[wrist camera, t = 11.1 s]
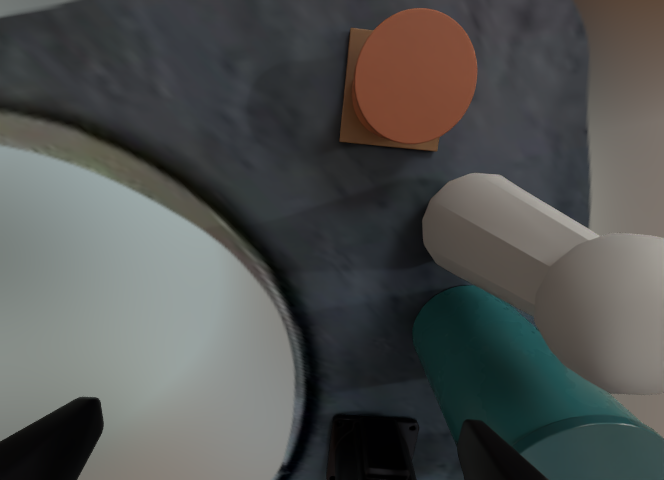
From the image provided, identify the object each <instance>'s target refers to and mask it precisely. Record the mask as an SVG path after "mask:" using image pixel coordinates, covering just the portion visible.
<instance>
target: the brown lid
mask: <svg viewBox="0 0 664 480" xmlns="http://www.w3.org/2000/svg"><path fill="white" fill-rule="evenodd" d="M476 81H477V60H476V55H475V51H474V48H473V45H472V43H471V41H470V39H469V37H468V35H467V34H466V32H465V31H464V29H463V28H462V27H461V26H460V25H459V24H458V23H457V22H456V21H455V20H453V19H452V18H451V17H449V16H447V15H446V14H444V13H441V12H439V11H436V10H432V9H426V8H416V9H409V10H405V11H401V12H399V13H397V14H394V15H392V16H391V17H389V18H387V19H386V20H385V21H383V22H382V23H381V24H380V25H378V26H377V28H376V29H375V30H374V31H373V32H372V33H371V34H370V36H369V37H368V38H367V40H366V42H365V43H364V45H363V47H362V49H361V52H360V54H359V56H358V59H357V63H356V67H355V73H354V80H353V85H352V102H353V107H354V110H355V113H356V115H357V117H358V119H359V120H360V122H361V123H362V124H363V125H364V127H365V128H366V129H368V130H369V131H370V132H372V133H373V134H375V135H377V136H379V137H382V138H386V139H388V140H390V141H393V142H397V143H402V144H420V143H425V142H429V141H431V140H434V139H436V138H438V137H440V136H442V135H443V134H445V133H446V132H448V131H449V130H450V129H451V128H452V127H454V126H455V125H456V124H457V122H458V121H459V120H460V119H461V118H462V116H463V115H464V113H465V112H466V110H467V108H468V107H469V105H470V103H471V100H472V97H473V95H474V91H475V87H476Z"/></svg>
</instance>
